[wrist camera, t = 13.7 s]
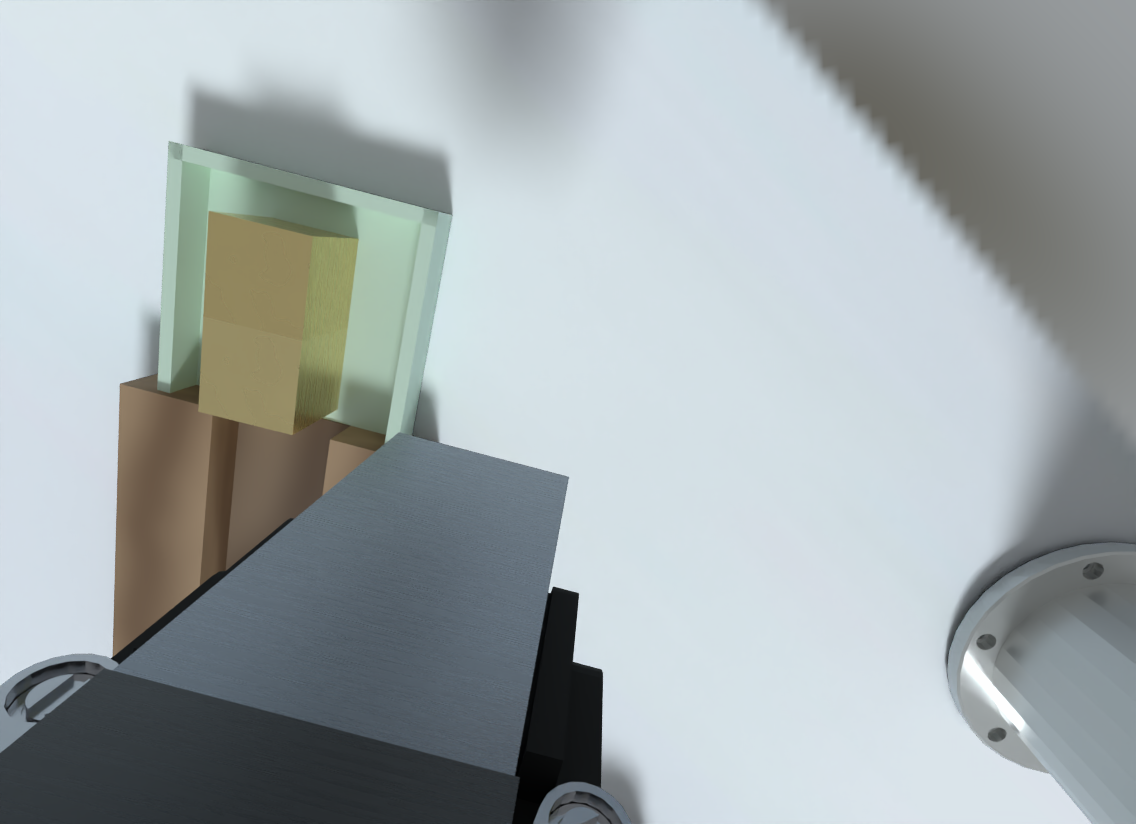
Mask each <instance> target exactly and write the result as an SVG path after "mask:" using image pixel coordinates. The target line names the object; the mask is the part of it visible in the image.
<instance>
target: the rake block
mask: <svg viewBox="0 0 1136 824" xmlns="http://www.w3.org/2000/svg"><path fill="white" fill-rule="evenodd" d="M568 479H569V477H567V476H564V475H560V474H556V473H552V472H548V471H545V470H541V469H537V468H533V467H529V466H525V465H522V464H518V463H514V462H510V461H506V460H503V459H499V458H495V457H491V456H487V455H484V454H480V453H476V452H472V451H468V450H464V449H461V448H457V447H453V446H449V445H445V444H442V443H438V442H434V441H430V440H426V439H423V438H419V437H415V436H411V435H407V434H404V433H400V432H398V433H397V434H396V435H395V436H394V437H392V438H391V439H390V440H389V441H388V442H386V443H385V444H384V445H383V446H382V447H380V448H379V449H378V450H377V451H376V452H374V453H373V454H372V455H371V456H370V457H368V458H367V459H366V460H365V461H364V462H362V463H361V464H360V465H359V466H358V467H356V468H355V469H354V470H353V471H352V472H350V473H349V474H348V475H347V476H346V477H344V478H343V479H342V480H341V481H339V482H338V483H337V484H336V485H335V486H333V487H332V488H331V489H330V490H329V491H327V492H326V493H325V494H324V495H323V496H321V497H320V498H319V499H318V500H317V501H315V502H314V503H313V504H312V505H311V506H309V507H308V508H307V509H306V510H305V511H303V512H302V513H301V514H300V515H299V516H297V517H296V518H295V519H294V520H293V521H291V522H290V523H289V524H288V525H287V526H285V527H284V528H283V529H282V530H281V531H279V532H278V533H277V534H276V535H275V536H273V537H272V538H271V539H270V540H269V541H267V542H266V543H265V544H264V545H263V546H261V547H260V548H259V549H258V550H256V551H255V552H254V553H253V554H252V555H250V556H249V557H248V558H247V559H246V560H244V561H243V562H242V563H241V564H240V565H238V566H237V567H236V568H235V569H234V570H232V571H231V572H230V573H229V574H228V575H226V576H225V577H224V578H223V579H222V580H220V581H219V582H218V583H217V584H216V585H214V586H213V587H212V588H211V589H210V590H208V591H207V592H206V593H205V594H204V595H202V596H201V597H200V598H199V599H198V600H196V601H195V602H194V603H193V604H192V605H190V606H189V607H188V608H187V609H186V610H184V611H183V612H182V613H181V614H180V615H178V616H177V617H176V618H175V619H173V620H172V621H171V622H170V623H169V624H167V625H166V626H165V627H164V628H163V629H161V630H160V631H159V632H158V633H157V634H155V635H154V636H153V637H152V638H151V639H149V640H148V641H147V642H146V643H145V644H143V645H142V646H141V647H140V648H139V649H137V650H136V651H135V652H134V653H133V654H131V655H130V656H129V657H128V658H127V659H125V660H124V661H123V662H122V663H121V664H119V665H118V666H117V667H116V668H115V669H113V670H109V669H105V668H104V669H103V670H102V671H100V672H99V673H98V674H97V675H95V676H94V677H93V678H92V679H90V680H89V681H88V682H87V683H86V684H84V685H83V686H82V687H81V688H79V689H78V690H77V691H76V692H74V693H73V694H72V695H71V696H70V697H68V698H67V699H66V700H65V701H63V702H62V703H61V704H60V705H59V706H57V707H56V708H55V709H54V710H52V711H51V712H50V713H49V714H47V715H46V716H45V717H44V718H43V719H41V720H40V721H39V722H38V723H36V724H35V725H34V726H33V727H31V728H30V729H29V730H28V731H27V732H25V733H24V734H23V735H22V736H20V737H19V738H18V739H17V740H15V741H14V742H13V743H12V744H11V745H9V746H8V747H7V748H6V749H4V750H3V751H2V752H1V753H0V824H512V820H513V814H514V808H515V802H516V797H517V791H518V785H519V779H520V777H517V776H515V772H516V767H517V761H518V756H519V750H520V745H521V739H522V733H523V728H524V722H525V717H526V711H527V706H528V700H529V695H530V689H531V684H532V678H533V673H534V667H535V662H536V656H537V651H538V645H539V640H540V634H541V629H542V623H543V618H544V612H545V606H546V601H547V595H548V590H549V584H550V579H551V573H552V568H553V562H554V557H555V551H556V546H557V540H558V535H559V529H560V524H561V518H562V513H563V507H564V502H565V496H566V491H567V485H568Z"/></svg>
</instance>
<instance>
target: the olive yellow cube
mask: <svg viewBox="0 0 1136 824" xmlns="http://www.w3.org/2000/svg"><path fill="white" fill-rule="evenodd" d="M347 330H348V328H345V329H342V330H338V331H335V332H331V333H328V334H324V335H321V336H317V337H313V338H310V339H306V340H303V341H301V340H297V339H293V338H289V337H285V336H281V335H277V334H273V333H269V332H265V331H261V330H257V329H253V328H249V327H244V326H240V325H236V324H232V323H228V322H224V321H220V320H216V319H212V318H208V317H204V316H203V330H202V350H201V369H200V389H199V408H198V412H201V413H205V414H209V415H213V416H217V417H221V418H225V419H229V420H234V421H238V422H242V423H246V424H250V425H254V426H258V427H262V428H266V429H270V430H274V431H278V432H282V433H286V434H290V435H294V434H295V433H297V432H299V431H301V430H302V429H304V428H306V427H308V426H309V425H311V424H313V423H315V422H316V421H318V420H320V419H322V418H323V417H325V416H327V415H329V414H330V413H332V412H334V411H336V410H337V409H338V402H339V394H340V386H341V378H342V370H343V362H344V354H345V346H346V338H347Z"/></svg>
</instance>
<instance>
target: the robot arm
mask: <svg viewBox="0 0 1136 824" xmlns="http://www.w3.org/2000/svg"><path fill="white" fill-rule="evenodd" d="M293 520H294V518H290V519H288V520H286V521H285V522H284V523H283V524H282V525H280V526H279V527H278V528H277V529H276V530H274V531H273V532H272V533H271V534H270V535H268V536H267V537H266V538H265V539H264V540H262V541H261V542H260V543H259V544H258V545H256V546H255V547H254V548H253V549H252V550H250V551H249V552H248V553H247V554H245V555H244V556H243V557H242V558H241V559H239V560H238V561H237V562H236V563H235V564H233V565H232V566H231V567H230V568H229V569H227V570H226V571H219V572H218V573H216V574H214V575H213V576H211V577H210V578H209V579H208V580H207V581H205V582H204V583H203V584H202V585H200V586H199V587H198V588H197V589H195V590H194V591H193V592H192V593H191V594H189V595H188V596H187V597H186V598H184V599H183V600H182V601H181V602H180V603H178V604H177V605H176V606H175V607H173V608H172V609H171V610H170V611H169V612H167V613H166V614H165V615H164V616H162V617H161V618H160V619H159V620H157V621H156V622H155V623H154V624H153V625H151V626H150V627H149V628H148V629H146V630H145V631H144V632H143V633H142V634H140V635H139V636H138V637H137V638H135V639H134V640H133V641H132V642H130V643H129V644H128V645H127V646H126V647H124V648H123V649H122V650H121V651H119V652H118V653H117V654H116V655H115V656H113V657H112V658H111V659H110V658H108V657H106V656H101V655H96V654H71V655H65V656H60V657H54V658H51V659H48V660H45V661H42V662H39V663H36V664H34V665H32V666H30V667H28V668H26V669H24V670H22V671H20V672H18V673H16V674H15V675H14V676H12V677H11V678H10V679H8V680H7V681H6V682H5V683H3V684H2V685H1V686H0V753H1V752H2V751H3V750H4V749H6V748H7V747H8V746H9V745H11V744H12V743H13V742H14V741H15V740H17V739H18V738H19V737H20V736H22V735H23V734H24V733H25V732H27V731H28V730H29V729H30V728H31V727H33V726H34V725H35V724H36V723H38V722H39V721H40V720H41V719H43V718H44V717H45V716H46V715H47V714H49V713H50V712H51V711H52V710H54V709H55V708H56V707H57V706H59V705H60V704H61V703H62V702H63V701H65V700H66V699H67V698H68V697H70V696H71V695H72V694H73V693H74V692H76V691H77V690H78V689H79V688H81V687H82V686H83V685H84V684H86V683H87V682H88V681H89V680H90V679H92V678H93V677H94V676H95V675H97V674H98V673H99V672H100V671H102V670H103V669H104V668H105V669H109V670H113V669H115V668H116V667H117V666H118V665H119V664H121V663H122V662H123V661H124V660H125V659H127V658H128V657H129V656H130V655H131V654H133V653H134V652H135V651H136V650H137V649H139V648H140V647H141V646H142V645H143V644H145V643H146V642H147V641H148V640H149V639H151V638H152V637H153V636H154V635H155V634H157V633H158V632H159V631H160V630H161V629H163V628H164V627H165V626H166V625H167V624H169V623H170V622H171V621H172V620H173V619H175V618H176V617H177V616H178V615H180V614H181V613H182V612H183V611H184V610H186V609H187V608H188V607H189V606H190V605H192V604H193V603H194V602H195V601H196V600H198V599H199V598H200V597H201V596H202V595H204V594H205V593H206V592H207V591H208V590H210V589H211V588H212V587H213V586H214V585H216V584H217V583H218V582H219V581H220V580H222V579H223V578H224V577H225V576H226V575H228V574H229V573H230V572H231V571H232V570H234V569H235V568H236V567H237V566H238V565H240V564H241V563H242V562H243V561H244V560H246V559H247V558H248V557H249V556H250V555H252V554H253V553H254V552H255V551H256V550H258V549H259V548H260V547H261V546H263V545H264V544H265V543H266V542H267V541H269V540H270V539H271V538H272V537H273V536H275V535H276V534H277V533H278V532H279V531H281V530H282V529H283V528H284V527H285V526H287V525H288V524H289V523H290V522H291V521H293ZM578 599H579V593H576V592H572V591H568V590H564V589H561V588H557V587H553V588H552V591H551V593H548V595H547V601H546V606H545V612H544V618H543V623H542V629H541V634H540V640H539V645H538V651H537V656H536V662H535V667H534V673H533V678H532V684H531V689H530V695H529V700H528V706H527V711H526V717H525V722H524V728H523V733H522V739H521V745H520V750H519V756H518V761H517V767H516V772H515V776H517V777H520V779H519V785H518V791H517V797H516V802H515V808H514V814H513V820H512V824H631V821H630V819H629V817H628V815H627V814H626V812H625V810H624V808H623V807H622V806H621V805H620V804H619V803H618V801H617V800H616V799H615V798H614V797H613V796H612V795H610V794H609V793H607V792H606V791H604V790H603V789H601V751H602V698H603V672H602V670H601V669H597V668H594V667H590V666H586V665H582V664H579V663H575V662H573V653H574V642H575V631H576V621H577V610H578ZM947 674H948V682H949V689H950V693H951V695H952V698H953V700H954V703H955V705H956V708H957V710H958V711H959V713H960V714H961V715H962V717H963V718H964V720H965V721H966V723H967V724H968V725H969V727H970V728H971V730H972V731H973V732H974V733H975V734H976V736H977V737H978V738H979V739H980V740H981V741H982V742H983V743H984V744H985V745H986V746H987V747H989V748H990V749H991V750H993V751H994V752H996V753H997V754H999V755H1000V756H1001V757H1003V758H1005V759H1007V760H1009V761H1011V762H1013V763H1016V764H1018V765H1020V766H1022V767H1025V768H1029V769H1032V770H1036V771H1040V772H1044V773H1049V774H1051V776H1052V777H1053V778H1054V779H1055V780H1056V781H1057V783H1058V784H1059V785H1060V786H1061V787H1062V789H1063V790H1064V791H1065V792H1066V793H1067V795H1068V796H1069V797H1070V798H1071V799H1072V801H1073V802H1074V803H1075V804H1076V805H1077V807H1078V808H1079V809H1080V810H1081V811H1082V813H1083V814H1084V815H1085V816H1086V817H1087V819H1088V820H1089V821H1090V822H1091V823H1092V824H1136V544H1127V543H1115V542H1108V543H1095V544H1083V545H1079V546H1075V547H1070V548H1066V549H1062V550H1057V551H1054V552H1052V553H1049V554H1047V555H1044V556H1041V557H1039V558H1036V559H1034V560H1031V561H1029V562H1027V563H1025V564H1024V565H1022V566H1020V567H1019V568H1017V569H1015V570H1013V571H1012V572H1010V573H1008V574H1007V575H1005V576H1004V577H1002V578H1001V579H1000V580H999V581H998V582H996V583H995V584H994V585H993V586H991V587H990V588H989V589H988V590H986V591H985V592H984V593H983V594H982V596H981V597H980V598H979V599H978V600H977V601H976V602H975V604H974V605H973V606H972V607H971V608H970V609H969V610H968V612H967V614H966V615H965V617H964V619H963V620H962V622H961V624H960V625H959V627H958V629H957V630H956V633H955V636H954V639H953V642H952V645H951V648H950V651H949V659H948V668H947Z"/></svg>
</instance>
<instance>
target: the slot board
mask: <svg viewBox="0 0 1136 824" xmlns="http://www.w3.org/2000/svg"><path fill="white" fill-rule="evenodd" d="M157 383H158V374H155V375H151V376H148V377H144V378H140V379H136V380H133V381H129V382H125V383H121V384H120V404H119V441H118V479H117V516H116V553H115V591H114V628H113V656H115V655H116V654H117V653H118V652H119V651H121V650H122V649H123V648H124V647H126V646H127V645H128V644H129V643H130V642H132V641H133V640H134V639H135V638H137V637H138V636H139V635H140V634H142V633H143V632H144V631H145V630H146V629H148V628H149V627H150V626H151V625H153V624H154V623H155V622H156V621H157V620H159V619H160V618H161V617H162V616H164V615H165V614H166V613H167V612H169V611H170V610H171V609H172V608H173V607H175V606H176V605H177V604H178V603H180V602H181V601H182V600H183V599H184V598H186V597H187V596H188V595H189V594H191V593H192V592H193V591H194V590H195V589H197V588H198V587H199V586H200V585H202V584H203V583H204V582H205V581H207V580H208V579H209V578H210V577H211V576H213V575H214V574H216V573H218V572H219V571H226V570H227V569H229V568H230V567H231V566H232V565H233V564H235V563H236V562H237V561H238V560H239V559H241V558H242V557H243V556H244V555H245V554H247V553H248V552H249V551H250V550H252V549H253V548H254V547H255V546H256V545H258V544H259V543H260V542H261V541H262V540H264V539H265V538H266V537H267V536H268V535H270V534H271V533H272V532H273V531H274V530H276V529H277V528H278V527H279V526H280V525H282V524H283V523H284V522H285V521H286V520H288V519H290V518H294V519H295V518H296V517H297V516H299V515H300V514H301V513H302V512H303V511H305V510H306V509H307V508H308V507H309V506H311V505H312V504H313V503H314V502H315V501H317V500H318V499H319V498H320V497H321V496H323V495H324V494H325V493H326V492H327V491H329V490H330V489H331V488H332V487H333V486H335V485H336V484H337V483H338V482H339V481H341V480H342V479H343V478H344V477H346V476H347V475H348V474H349V473H350V472H352V471H353V470H354V469H355V468H356V467H358V466H359V465H360V464H361V463H362V462H364V461H365V460H366V459H367V458H368V457H370V456H371V455H372V454H373V453H374V452H376V451H377V450H378V449H379V448H380V447H382V446H383V445H384V444H385V438H386V435H384V434H381V433H377V432H373V431H369V430H365V429H362V428H358V427H354V426H350V425H346V424H343V423H339V422H335V421H331V420H328V419H324V418H322V419H320V420H318V421H316V422H315V423H313V424H311V425H309V426H308V427H306V428H304V429H302V430H301V431H299V432H297V433H295V434H294V435H290V434H286V433H282V432H278V431H274V430H270V429H266V428H262V427H258V426H254V425H250V424H246V423H242V422H238V421H234V420H229V419H225V418H221V417H217V416H213V415H209V414H205V413H201V412H198V408H199V389H200V386H199V385H194V386H191V387H188V388H185V389H182V390H178V391H175V392H172V393H167V392H164V391H160V390H157Z"/></svg>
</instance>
